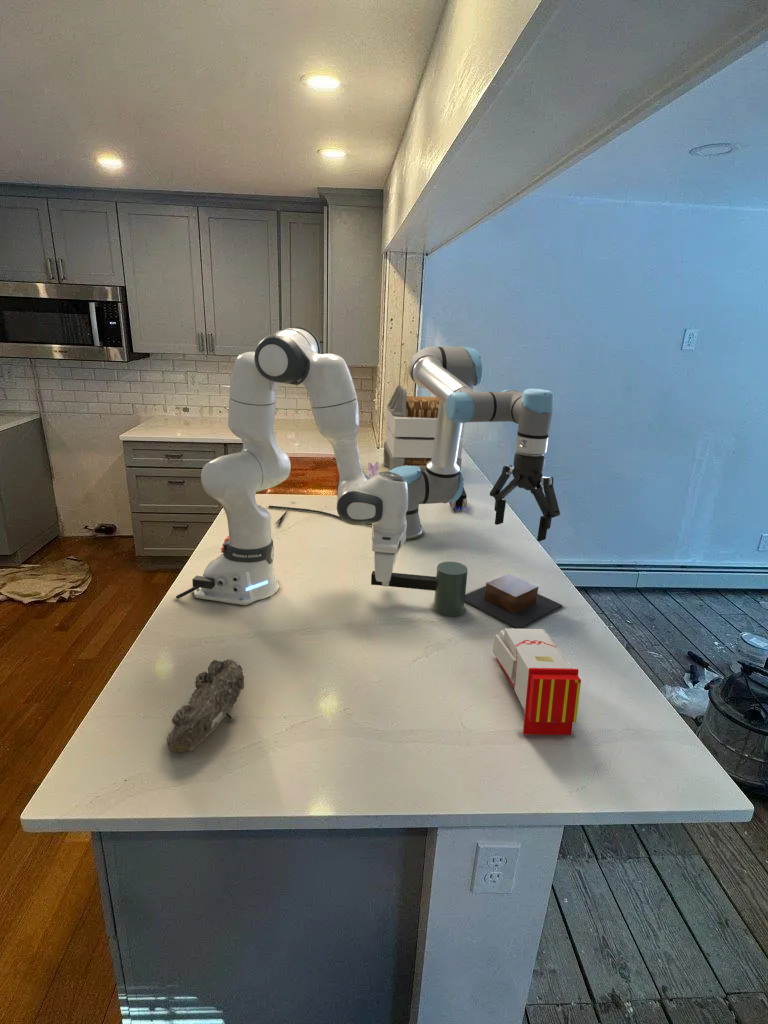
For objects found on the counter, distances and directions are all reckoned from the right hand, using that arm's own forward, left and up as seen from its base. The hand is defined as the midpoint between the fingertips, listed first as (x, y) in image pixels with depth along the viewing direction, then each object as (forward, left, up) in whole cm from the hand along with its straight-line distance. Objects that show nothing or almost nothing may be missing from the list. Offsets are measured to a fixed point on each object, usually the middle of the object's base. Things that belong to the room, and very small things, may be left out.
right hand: (519, 531), depth 149 cm
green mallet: (-14, -22, -21) cm, 34 cm away
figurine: (-91, +27, -21) cm, 97 cm away
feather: (-94, -14, -21) cm, 97 cm away
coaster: (0, 0, -21) cm, 21 cm away
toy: (+26, -28, -21) cm, 44 cm away
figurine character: (-63, +47, -21) cm, 81 cm away
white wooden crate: (-108, +69, -21) cm, 130 cm away
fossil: (-6, -84, -21) cm, 86 cm away
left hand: (-20, -28, -15) cm, 37 cm away
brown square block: (0, 0, -21) cm, 21 cm away
